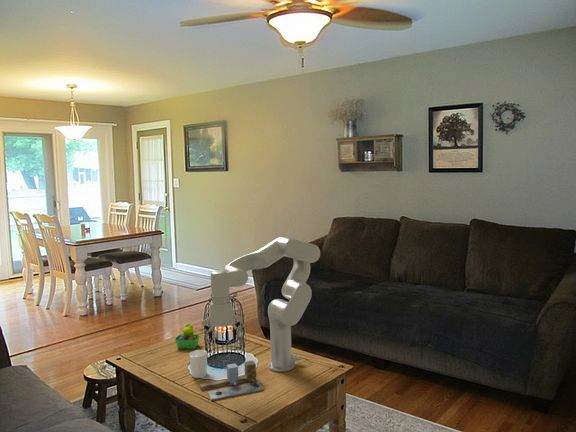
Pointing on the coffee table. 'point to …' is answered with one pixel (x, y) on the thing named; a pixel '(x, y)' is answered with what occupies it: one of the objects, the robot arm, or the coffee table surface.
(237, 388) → the bolt plate
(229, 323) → the robot arm
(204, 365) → the white cup
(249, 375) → the beam
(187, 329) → the fruit basket
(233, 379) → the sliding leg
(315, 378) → the coffee table surface
